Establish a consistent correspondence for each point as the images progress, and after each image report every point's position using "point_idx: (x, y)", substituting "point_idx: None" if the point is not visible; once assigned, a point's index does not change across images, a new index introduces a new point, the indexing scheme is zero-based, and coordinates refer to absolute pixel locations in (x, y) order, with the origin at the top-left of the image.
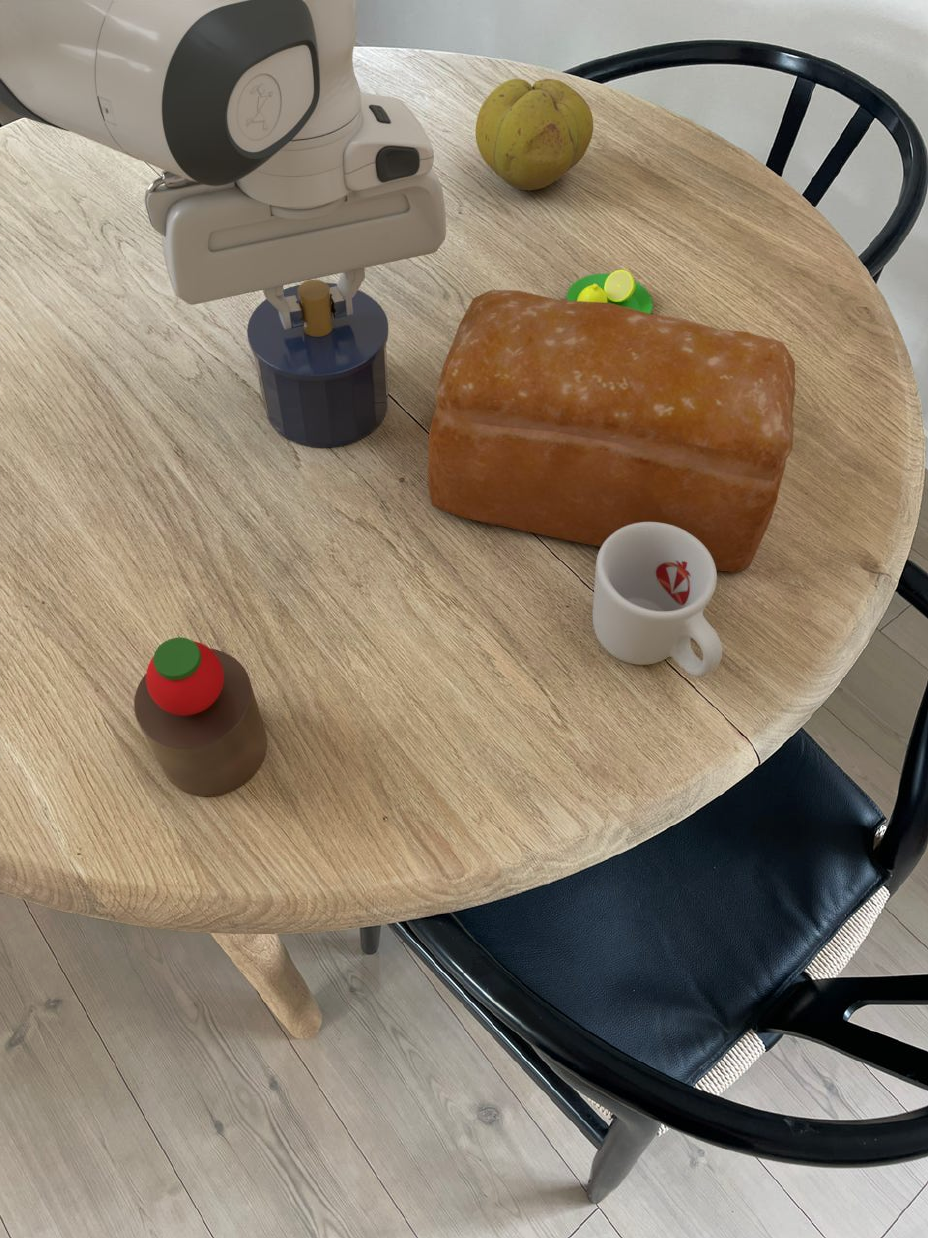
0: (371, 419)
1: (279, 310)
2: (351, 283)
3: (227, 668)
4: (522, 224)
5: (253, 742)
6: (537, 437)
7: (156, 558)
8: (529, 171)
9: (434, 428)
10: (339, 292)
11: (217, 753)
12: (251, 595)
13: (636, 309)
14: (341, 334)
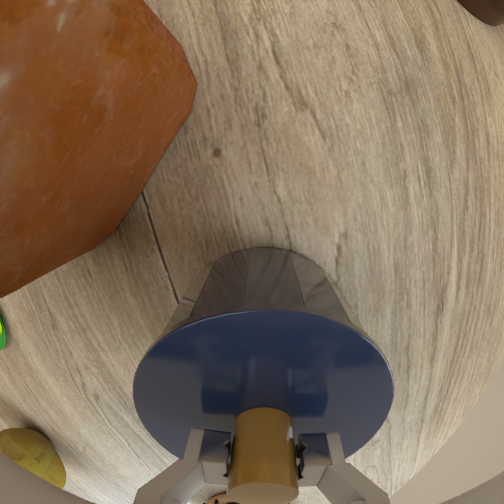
0: (220, 263)
1: (355, 469)
2: (173, 488)
3: None
4: (42, 416)
5: None
6: None
7: (499, 177)
8: (27, 443)
9: (132, 10)
10: (205, 473)
11: None
12: (444, 79)
13: None
14: (227, 399)
